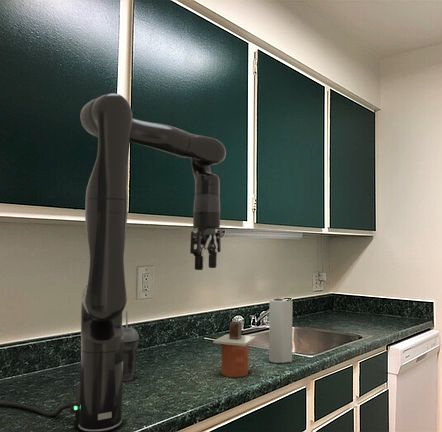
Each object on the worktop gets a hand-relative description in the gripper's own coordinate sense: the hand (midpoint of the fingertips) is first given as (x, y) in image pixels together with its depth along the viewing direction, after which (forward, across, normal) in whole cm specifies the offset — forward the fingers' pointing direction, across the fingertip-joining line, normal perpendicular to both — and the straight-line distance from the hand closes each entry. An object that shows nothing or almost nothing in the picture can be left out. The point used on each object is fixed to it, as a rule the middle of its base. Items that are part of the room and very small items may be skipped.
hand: (205, 268), depth 126 cm
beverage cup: (+34, -2, -27) cm, 44 cm away
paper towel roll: (+34, -38, +10) cm, 52 cm away
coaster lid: (+24, -20, +1) cm, 31 cm away
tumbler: (+34, -20, +1) cm, 40 cm away
